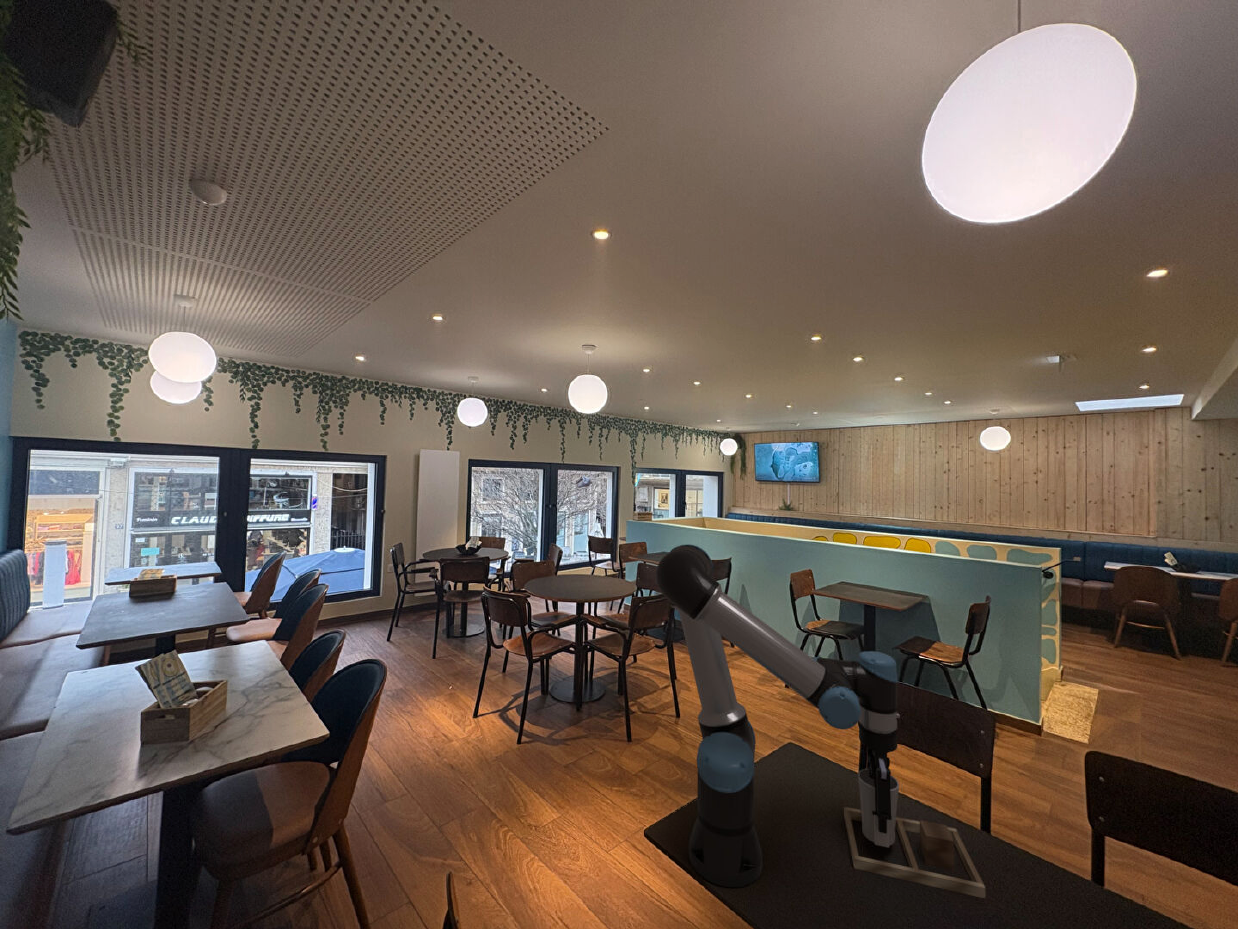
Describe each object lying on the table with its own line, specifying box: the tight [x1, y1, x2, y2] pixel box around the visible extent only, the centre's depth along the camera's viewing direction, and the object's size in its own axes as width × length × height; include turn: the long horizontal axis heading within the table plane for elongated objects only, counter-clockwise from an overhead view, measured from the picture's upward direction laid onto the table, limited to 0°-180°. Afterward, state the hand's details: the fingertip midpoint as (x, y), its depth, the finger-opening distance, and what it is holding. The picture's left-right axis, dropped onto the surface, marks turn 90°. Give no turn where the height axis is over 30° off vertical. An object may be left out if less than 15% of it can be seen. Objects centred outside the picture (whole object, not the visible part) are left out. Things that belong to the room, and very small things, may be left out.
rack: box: [843, 806, 986, 899], centre depth 107 cm, size 23×17×2 cm
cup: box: [857, 768, 900, 846], centre depth 109 cm, size 8×8×12 cm
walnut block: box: [919, 819, 955, 872], centre depth 105 cm, size 5×5×6 cm
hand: (878, 832), depth 109 cm, fingers closed on cup, 7 cm apart
